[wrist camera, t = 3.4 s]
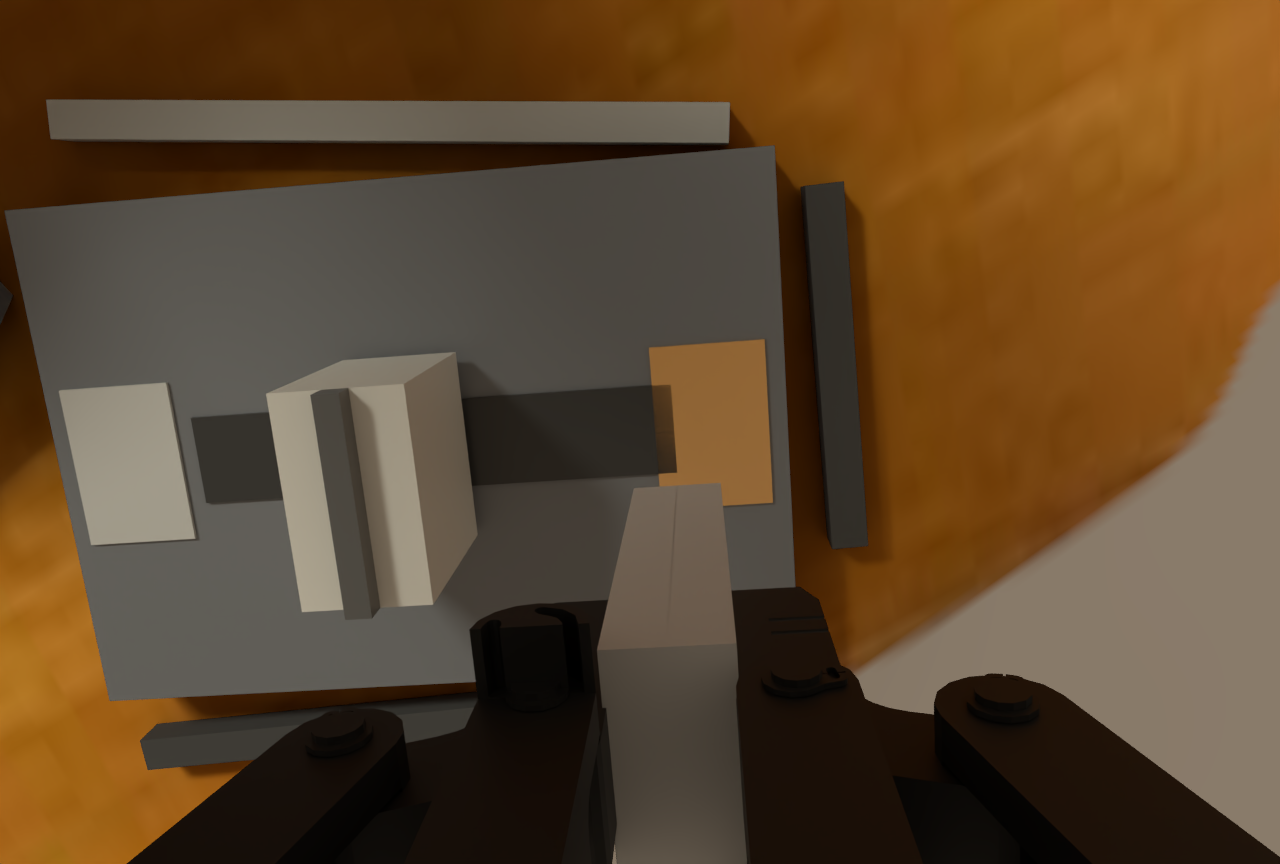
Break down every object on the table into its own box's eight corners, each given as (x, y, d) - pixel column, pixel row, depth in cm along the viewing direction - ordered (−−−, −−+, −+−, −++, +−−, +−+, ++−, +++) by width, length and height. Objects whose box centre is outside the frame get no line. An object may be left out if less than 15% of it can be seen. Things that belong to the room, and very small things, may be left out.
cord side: (827, 537, 29) (832, 549, 28) (800, 186, 26) (805, 185, 25) (861, 534, 28) (868, 545, 27) (837, 182, 26) (843, 181, 25)
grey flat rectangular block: (146, 669, 30) (107, 702, 28) (52, 210, 27) (1, 210, 25) (791, 634, 29) (799, 666, 27) (768, 150, 26) (775, 145, 24)
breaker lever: (369, 541, 27) (291, 623, 21) (342, 360, 26) (253, 399, 20) (477, 535, 26) (425, 615, 21) (455, 351, 25) (396, 389, 20)
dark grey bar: (164, 752, 31) (147, 769, 30) (156, 724, 31) (139, 740, 30) (599, 709, 30) (596, 726, 29) (594, 680, 30) (591, 695, 29)
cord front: (73, 141, 27) (50, 139, 26) (69, 103, 27) (46, 99, 26) (727, 145, 26) (728, 142, 25) (728, 106, 26) (730, 102, 25)
